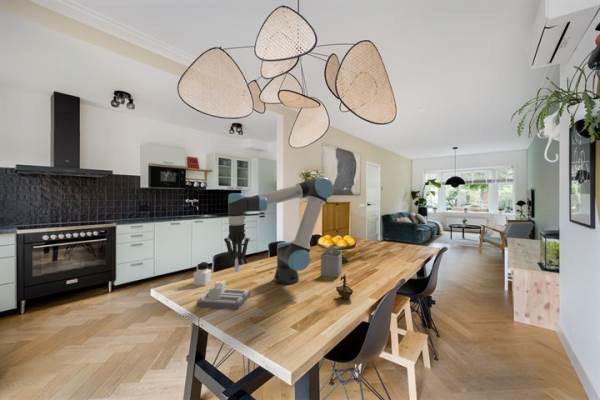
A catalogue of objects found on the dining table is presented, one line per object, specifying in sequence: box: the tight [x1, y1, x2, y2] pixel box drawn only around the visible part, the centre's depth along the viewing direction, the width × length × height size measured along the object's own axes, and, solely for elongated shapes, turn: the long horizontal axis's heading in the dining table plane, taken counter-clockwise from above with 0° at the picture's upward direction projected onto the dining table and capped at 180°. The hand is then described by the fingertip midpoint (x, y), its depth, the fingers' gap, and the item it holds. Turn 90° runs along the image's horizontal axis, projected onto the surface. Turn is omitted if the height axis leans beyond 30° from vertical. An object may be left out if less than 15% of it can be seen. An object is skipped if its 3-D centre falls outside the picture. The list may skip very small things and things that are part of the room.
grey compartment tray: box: [196, 288, 251, 310], centre depth 116 cm, size 20×16×3 cm
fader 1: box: [208, 285, 221, 300], centre depth 112 cm, size 4×4×5 cm
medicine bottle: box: [193, 261, 212, 287], centre depth 138 cm, size 7×7×12 cm
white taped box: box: [214, 280, 227, 293], centre depth 120 cm, size 4×4×5 cm
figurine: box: [335, 274, 354, 299], centre depth 120 cm, size 10×8×12 cm
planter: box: [320, 244, 343, 279], centre depth 154 cm, size 16×8×19 cm, turn 116°
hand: (237, 271), depth 119 cm, fingers closed
